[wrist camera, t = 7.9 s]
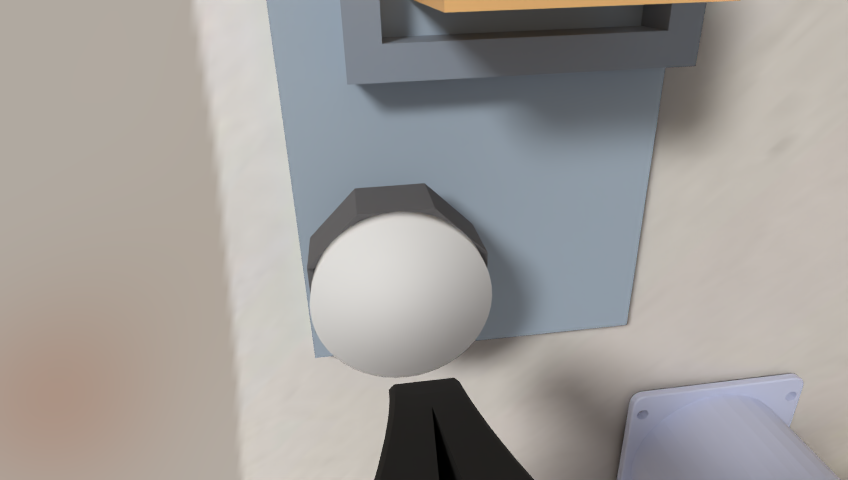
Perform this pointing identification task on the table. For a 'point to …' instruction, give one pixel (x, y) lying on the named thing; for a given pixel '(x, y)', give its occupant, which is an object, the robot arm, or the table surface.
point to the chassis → (489, 134)
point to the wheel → (397, 281)
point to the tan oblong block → (537, 4)
